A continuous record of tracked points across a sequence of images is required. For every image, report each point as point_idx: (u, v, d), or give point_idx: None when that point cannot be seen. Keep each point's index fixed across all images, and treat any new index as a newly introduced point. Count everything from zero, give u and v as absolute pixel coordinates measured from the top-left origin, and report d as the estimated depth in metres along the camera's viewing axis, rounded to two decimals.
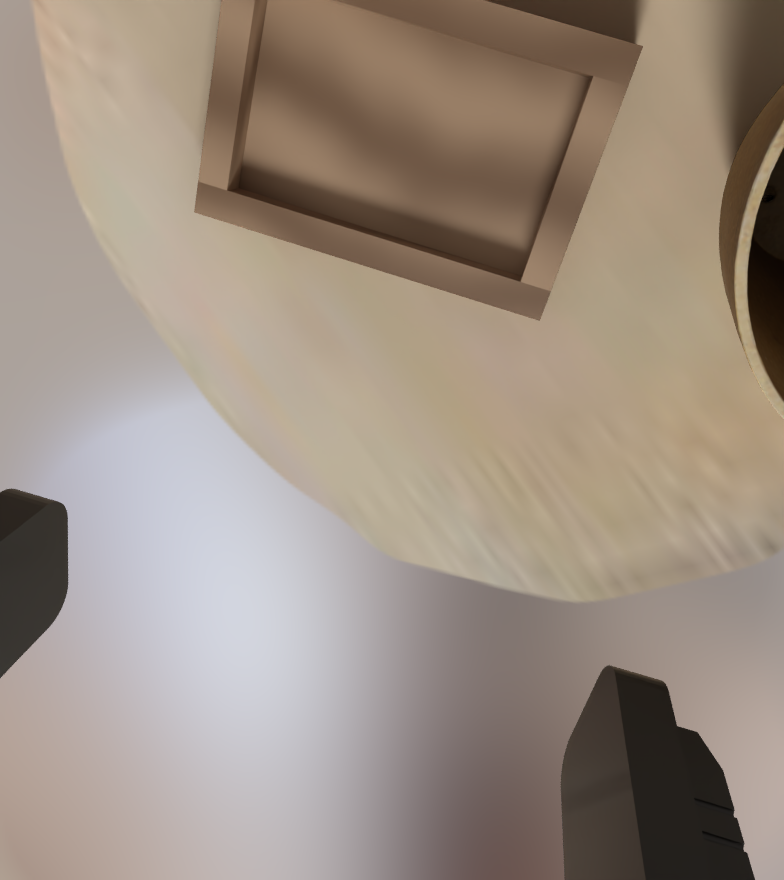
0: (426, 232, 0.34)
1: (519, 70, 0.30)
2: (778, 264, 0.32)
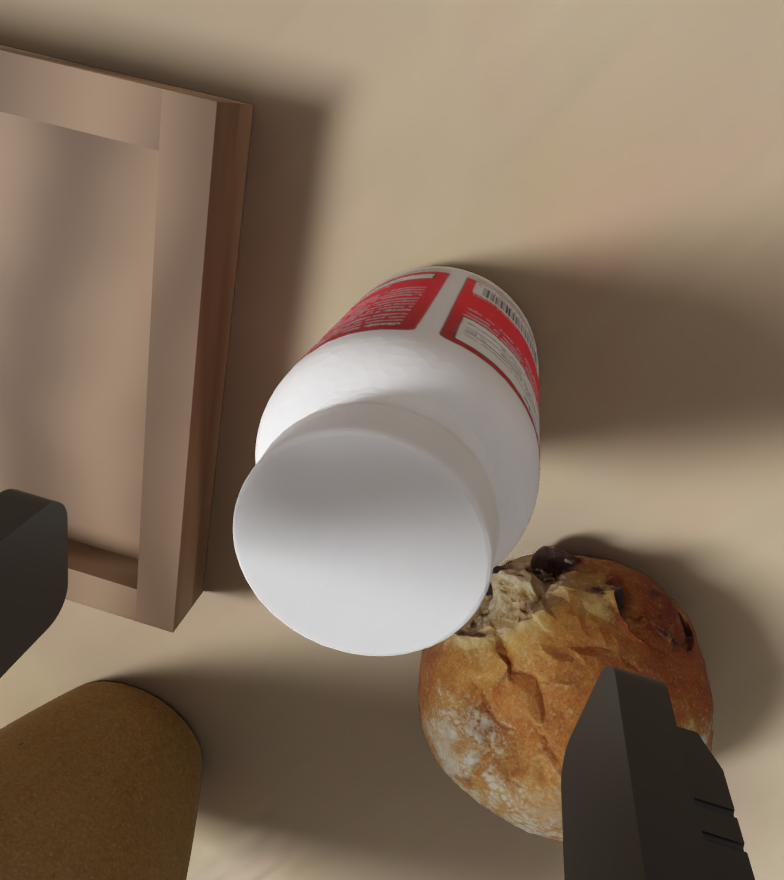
0: None
1: None
2: None
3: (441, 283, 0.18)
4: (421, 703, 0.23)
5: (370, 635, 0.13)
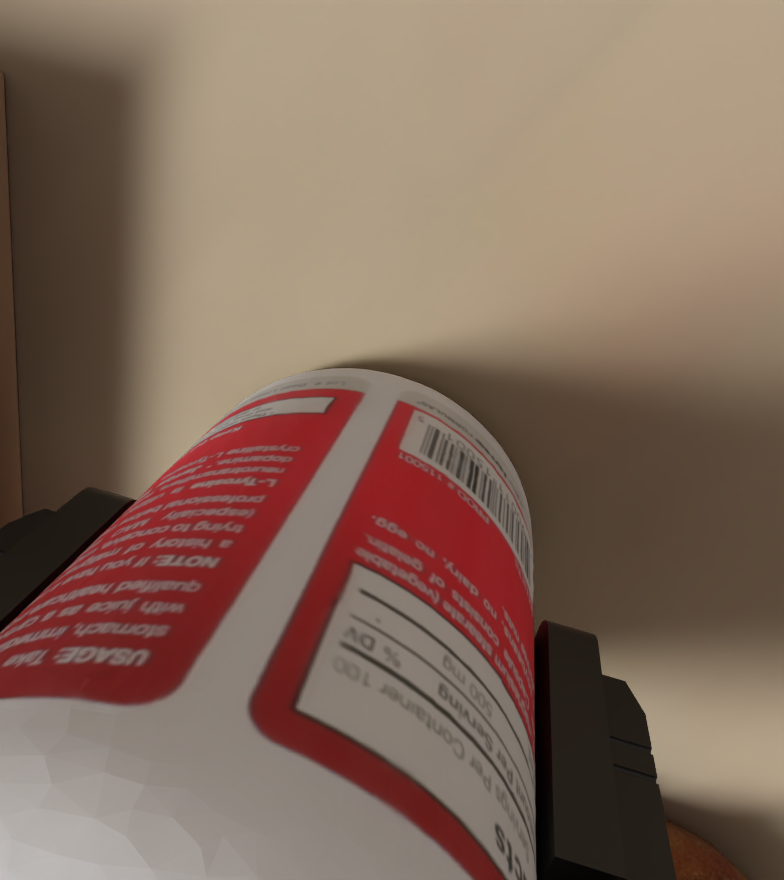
0: None
1: None
2: None
3: (336, 430, 0.09)
4: None
5: None
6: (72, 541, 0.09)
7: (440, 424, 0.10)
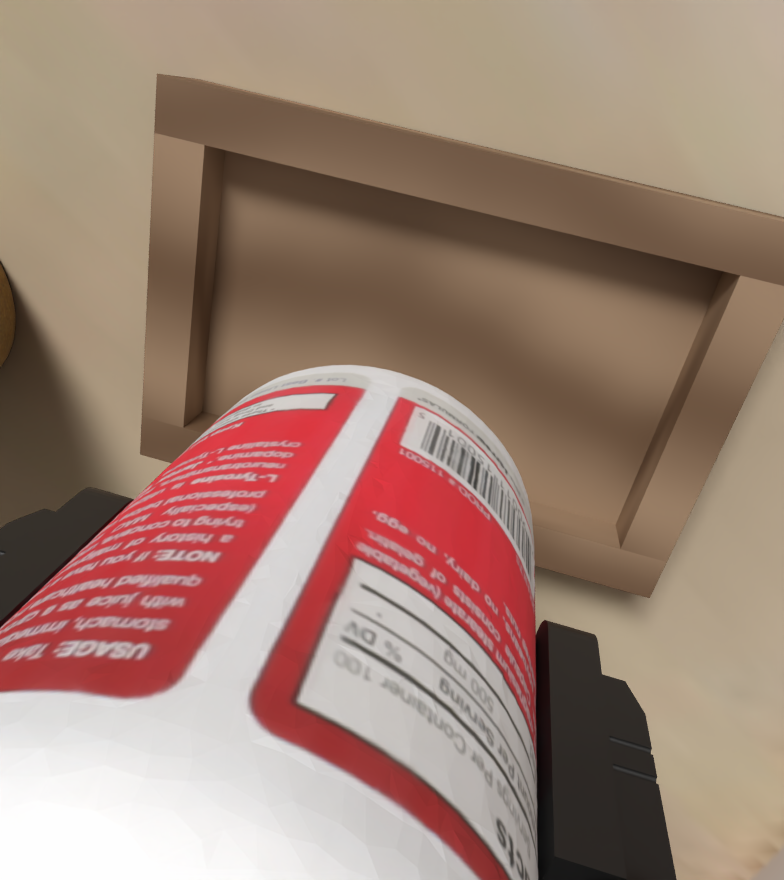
0: (385, 206, 0.20)
1: None
2: None
3: (337, 427, 0.09)
4: None
5: None
6: (72, 541, 0.09)
7: (441, 421, 0.10)
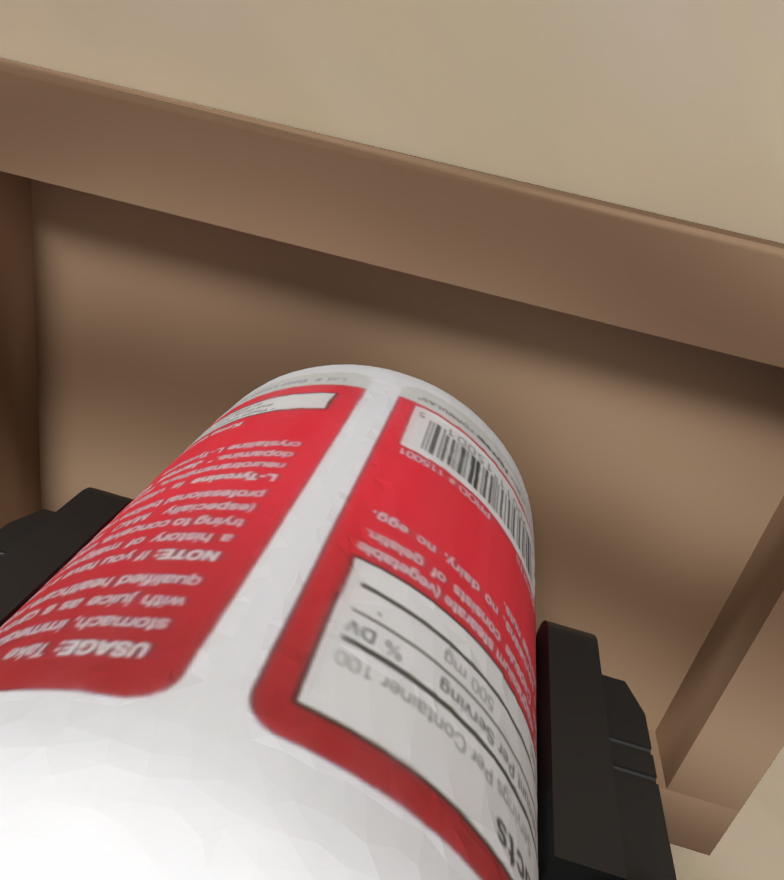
0: (289, 261, 0.13)
1: None
2: None
3: (337, 426, 0.09)
4: None
5: None
6: (72, 541, 0.09)
7: (441, 420, 0.10)
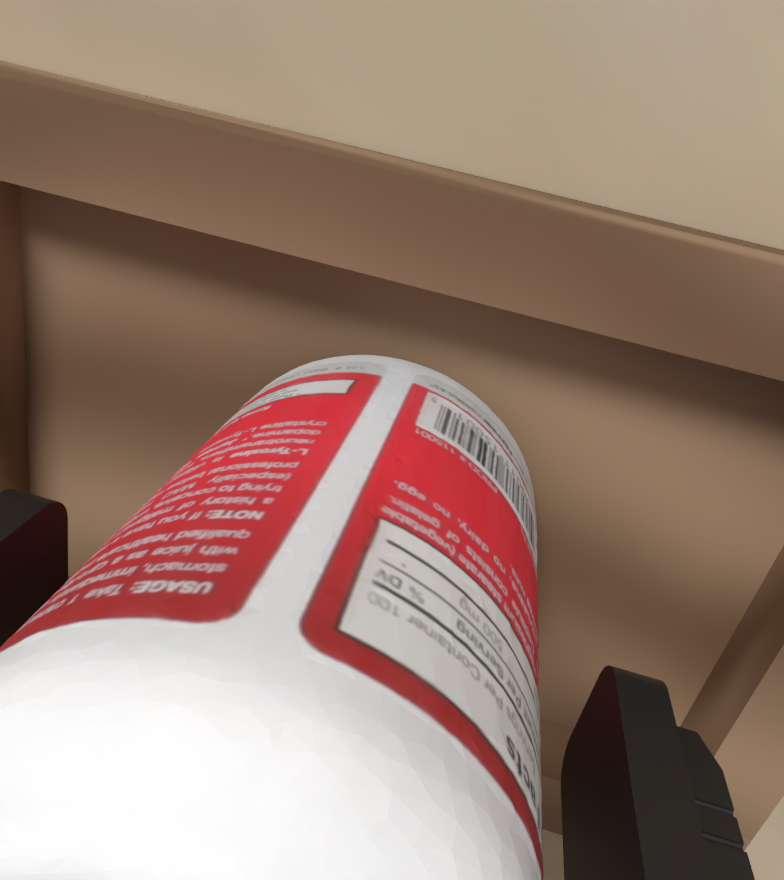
0: (287, 271, 0.12)
1: None
2: None
3: (358, 408, 0.10)
4: None
5: None
6: None
7: (451, 405, 0.11)
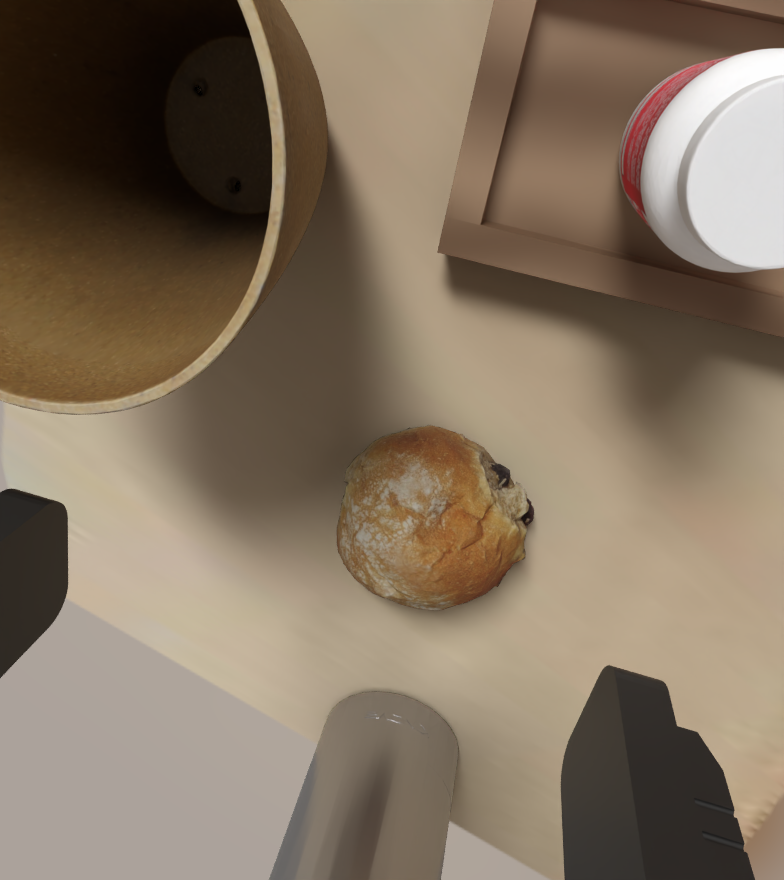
0: (674, 24, 0.25)
1: (556, 225, 0.29)
2: None
3: None
4: (424, 452, 0.33)
5: (775, 249, 0.18)
6: None
7: None
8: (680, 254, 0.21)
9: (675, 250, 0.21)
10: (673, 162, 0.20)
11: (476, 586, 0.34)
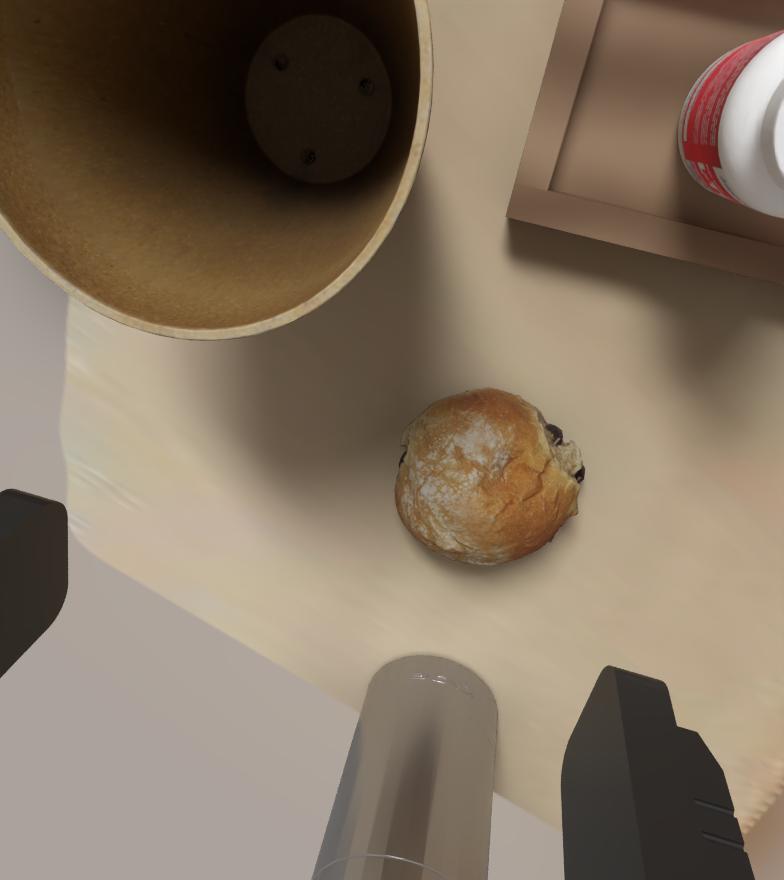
0: (733, 4, 0.28)
1: (616, 192, 0.31)
2: (338, 11, 0.30)
3: None
4: (486, 410, 0.35)
5: None
6: None
7: None
8: (754, 202, 0.23)
9: (749, 199, 0.23)
10: (753, 115, 0.22)
11: (533, 538, 0.36)
